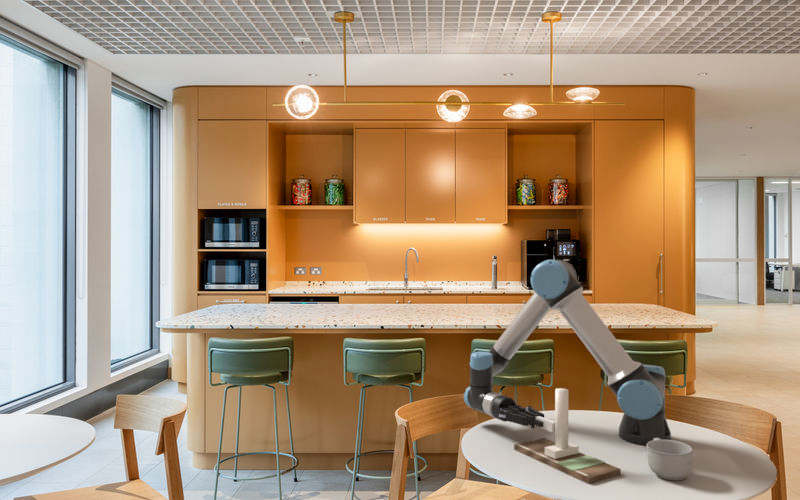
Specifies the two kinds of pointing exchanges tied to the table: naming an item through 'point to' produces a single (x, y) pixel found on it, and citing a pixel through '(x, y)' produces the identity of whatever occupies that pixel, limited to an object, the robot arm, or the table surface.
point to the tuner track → (569, 462)
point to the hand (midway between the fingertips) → (553, 427)
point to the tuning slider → (561, 428)
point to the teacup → (669, 458)
